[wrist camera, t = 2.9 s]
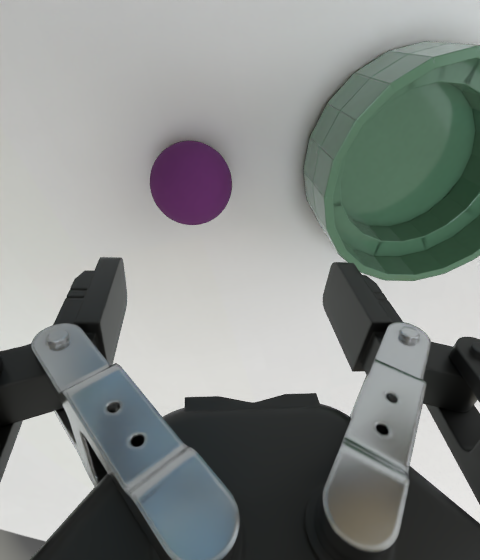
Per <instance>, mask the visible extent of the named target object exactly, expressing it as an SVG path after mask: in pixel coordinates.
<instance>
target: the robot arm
mask: <svg viewBox="0 0 480 560" xmlns="http://www.w3.org/2000/svg"><path fill="white" fill-rule="evenodd" d="M126 306H127V289H126V281H125V272H124V264H123V259H122V258H108V257H101V258H100V259H99V261H98V264H97V266H96V268H95V271H84V272H83V273H82V274H80V275H79V276H78V277H77V278H75V280H74V282H73V284H72V286H71V288H70V290H69V293H68V295H67V298H66V299H65V301H64V303H63V305H62V307H61V310H60V312H59V314H58V316H57V318H56V320H55V322H54V324H53V326H50V327H47V328H45V329H44V330H42V331H40V332H39V333H38V334H37V335H36V336H35V337H34V339H33V341H32V343H31V344H29V345H26V346H22V347H18V348H13V349H9V350H4V351H0V482H1V479H2V476H3V474H4V471H5V468H6V465H7V462H8V460H9V457H10V454H11V451H12V449H13V446H14V443H15V440H16V438H17V435H18V432H19V429H20V427H21V424H22V421H23V420H25V419H29V418H32V417H35V416H39V415H42V414H45V413H49V412H52V411H54V412H55V414H56V416H57V417H58V419H59V421H60V423H61V424H62V426H63V428H64V430H65V431H66V433H67V435H68V437H69V438H70V440H71V442H72V444H73V445H74V447H75V449H76V450H77V452H78V454H79V456H80V458H81V460H82V463H83V465H84V467H85V470H86V472H87V474H88V476H89V478H90V479H91V481H92V483H93V485H94V487H95V488H94V489H93V490H92V491H91V492H90V493H89V494H88V495H87V497H86V498H85V499H84V500H83V501H82V502H81V503H80V504H79V505H78V507H77V508H76V509H75V510H74V511H73V512H72V513H71V514H70V515H69V517H68V518H67V519H66V520H65V521H64V522H63V523H62V524H61V526H60V527H59V528H58V529H57V530H56V531H55V532H54V533H53V534H52V536H51V537H50V538H49V539H48V540H47V541H46V542H45V543H44V544H43V546H42V547H41V548H40V549H39V550H38V551H37V552H36V553H35V554H34V556H33V557H32V558H31V559H30V560H480V524H479V523H478V522H477V521H476V520H475V519H473V518H472V517H471V516H470V515H469V514H467V513H466V512H465V511H464V510H463V509H461V508H460V507H459V506H458V505H457V504H455V503H454V502H453V501H452V500H450V499H449V498H448V497H447V496H446V495H444V494H443V493H442V492H441V491H440V490H438V489H437V488H436V487H435V486H433V485H432V484H431V483H430V482H429V481H427V480H426V479H425V478H424V477H423V476H421V475H420V474H419V473H418V472H417V471H415V470H414V469H413V468H412V467H411V466H410V461H411V456H412V451H413V447H414V442H415V437H416V433H417V428H418V423H419V419H420V414H421V409H422V404H426V406H427V408H428V410H429V411H430V413H431V415H432V417H433V419H434V421H435V422H436V424H437V426H438V428H439V430H440V432H441V434H442V435H443V437H444V439H445V441H446V443H447V445H448V447H449V448H450V450H451V452H452V454H453V456H454V458H455V460H456V461H457V463H458V465H459V467H460V469H461V471H462V473H463V474H464V476H465V478H466V480H467V482H468V484H469V486H470V487H471V489H472V491H473V493H474V495H475V497H476V498H477V500H478V502H479V504H480V413H479V412H478V410H477V409H476V407H475V406H474V404H475V402H476V401H477V400H478V401H479V402H480V339H477V338H473V337H462V338H459V339H458V340H457V342H456V344H455V345H454V347H452V346H447V345H443V344H438V343H434V342H431V341H430V339H429V337H428V335H427V334H426V333H425V332H424V331H422V330H421V329H420V328H418V327H416V326H414V325H412V324H409V323H404V322H403V321H402V320H401V318H400V317H399V315H398V314H397V313H396V311H395V310H394V308H393V307H392V305H391V304H390V303H389V301H388V300H387V298H386V297H385V295H384V294H383V293H382V291H381V290H380V288H379V287H378V285H377V284H376V283H375V282H374V281H373V280H371V279H370V278H369V277H367V276H366V275H361V273H360V272H359V270H358V269H357V267H356V266H355V264H354V263H342V262H334V263H333V264H332V266H331V268H330V272H329V275H328V279H327V283H326V286H325V290H324V294H323V306H324V309H325V312H326V314H327V316H328V318H329V321H330V323H331V325H332V327H333V329H334V332H335V334H336V336H337V338H338V340H339V343H340V345H341V347H342V349H343V351H344V354H345V356H346V358H347V360H348V363H349V365H350V367H351V369H352V371H365V372H366V375H367V376H366V378H365V380H364V383H363V385H362V387H361V390H360V392H359V395H358V397H357V400H356V402H355V405H354V407H353V410H352V412H351V414H350V417H349V416H348V415H346V414H344V413H343V412H341V411H339V410H337V409H334V408H332V407H329V406H326V405H323V404H320V403H319V400H318V397H317V394H316V393H311V394H284V395H281V396H277V397H274V398H270V399H266V400H263V401H259V402H255V403H251V402H245V401H240V400H235V399H229V398H224V397H219V396H215V397H185V408H182V409H179V410H176V411H174V412H171V413H169V414H167V415H165V416H164V417H162V416H161V415H160V414H159V413H158V411H157V410H156V409H155V408H154V406H153V405H152V404H151V403H150V402H149V400H148V399H147V398H146V397H145V395H144V394H143V393H142V392H141V390H140V389H139V388H138V387H137V386H136V384H135V383H134V382H133V381H132V379H131V378H130V377H129V376H128V375H127V373H126V372H125V371H124V370H123V368H122V367H121V366H120V365H118V364H117V363H115V364H113V360H114V356H115V352H116V348H117V344H118V339H119V335H120V331H121V327H122V323H123V319H124V315H125V311H126ZM112 364H113V365H112Z"/></svg>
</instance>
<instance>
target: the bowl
mask: <svg viewBox="0 0 480 560" xmlns="http://www.w3.org/2000/svg"><path fill="white" fill-rule="evenodd" d="M303 170H304V171H303V172H304V180H305V189H306V198H307V201H308V203H309V205H310V207H311V209H312V211H313V213H314V215H315V217H316V219H317V220H318V222H319V224H320V225H321V227H322V229H323V230H324V232H325V233H326V235H327V237H328V238H329V240H330V241H331V243H332V245H333V246H334V248H335V249H336V251H337V253H338V254H339V255H340V256H341V257H342V258H343V259H345V260H346V261H347V262H348V263H354V264H355V266H356V267H357V269H358V270H359V272H361V273H364V274H367V275H370V276H373V277H376V278H379V279H382V280H391V281H416V280H420V279H424V278H428V277H433V276H437V275H441V274H445V273H447V272H449V271H451V270H453V269H455V268H457V267H459V266H461V265H464V264H466V263H468V262H470V261H472V260H474V259H475V258H477V257H478V256H480V45H470V44H456V43H443V42H430V41H424V42H421V43H417V44H413V45H409V46H406V47H402V48H398V49H394V50H390V51H388V52H386V53H385V54H383V55H382V56H380V57H379V58H377V59H375V60H374V61H372V62H371V63H369V64H368V65H366V66H364V67H363V68H361V69H360V70H358V71H357V72H355V73H354V74H353V75H352V76H351V77H350V78H349V79H348V80H347V82H346V83H345V84H344V85H343V86H342V87H341V88H340V89H339V91H338V92H337V93H336V94H335V95H334V96H333V97H332V98H331V99H330V101H329V102H328V103H327V105H326V107H325V108H324V110H323V112H322V114H321V116H320V118H319V120H318V122H317V124H316V126H315V128H314V130H313V132H312V134H311V136H310V139H309V144H308V149H307V154H306V159H305V164H304V169H303Z"/></svg>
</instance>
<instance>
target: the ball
mask: <svg viewBox="0 0 480 560" xmlns="http://www.w3.org/2000/svg"><path fill="white" fill-rule="evenodd" d="M150 189H151V193H152V196H153V199H154V201H155V203H156V205H157V206H158V207H159V209H160V210H161V211H162V212H163V213H164V214H165V215H166V216H167V217H169V218H170V219H172V220H174V221H176V222H179V223H182V224H186V225H198V224H203V223H206V222H209V221H211V220H212V219H214V218H215V217H217V216H218V215H219V214H220V213H221V212H222V211H223V210H224V208H225V207H226V205H227V203H228V201H229V198H230V195H231V190H232V179H231V174H230V170H229V168H228V165H227V163H226V162H225V160H224V159H223V157H222V156H221V155H220V154H219V153H218V152H217V151H216V150H214V149H213V148H212V147H210V146H208V145H206V144H204V143H201V142H197V141H182V142H178V143H175V144H173V145H171V146H169V147H168V148H166V149H165V150H164V151H163V152H162V153H161V154H160V155H159V156H158V157H157V159H156V160H155V162H154V165H153V167H152V170H151V175H150Z"/></svg>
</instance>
